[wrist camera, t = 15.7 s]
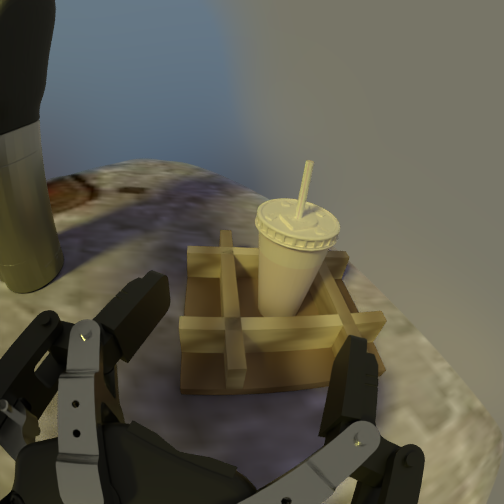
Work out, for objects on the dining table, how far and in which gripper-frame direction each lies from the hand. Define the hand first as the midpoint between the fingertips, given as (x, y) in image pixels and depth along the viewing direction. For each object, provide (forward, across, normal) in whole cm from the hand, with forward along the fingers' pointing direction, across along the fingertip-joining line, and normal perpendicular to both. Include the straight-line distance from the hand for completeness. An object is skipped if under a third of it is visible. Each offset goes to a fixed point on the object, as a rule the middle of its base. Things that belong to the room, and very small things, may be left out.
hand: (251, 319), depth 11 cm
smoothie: (+11, 0, +10) cm, 15 cm away
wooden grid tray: (+11, 0, +11) cm, 15 cm away
